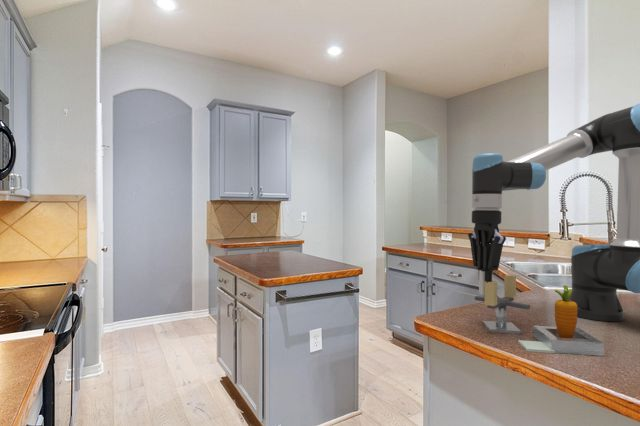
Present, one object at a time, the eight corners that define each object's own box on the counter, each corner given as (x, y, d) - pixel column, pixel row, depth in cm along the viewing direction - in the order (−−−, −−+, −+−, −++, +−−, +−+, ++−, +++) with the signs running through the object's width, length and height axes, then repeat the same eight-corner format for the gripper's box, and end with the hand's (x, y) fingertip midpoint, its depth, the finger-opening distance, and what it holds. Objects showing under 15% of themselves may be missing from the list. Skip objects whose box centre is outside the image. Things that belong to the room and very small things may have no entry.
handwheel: (487, 295, 113) (487, 272, 113) (538, 304, 102) (538, 278, 102) (463, 304, 102) (463, 278, 102) (517, 315, 91) (517, 286, 91)
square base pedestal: (511, 325, 105) (511, 301, 105) (521, 334, 97) (521, 308, 97) (482, 323, 107) (482, 300, 107) (489, 332, 99) (489, 307, 99)
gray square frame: (579, 339, 93) (579, 328, 93) (603, 356, 82) (603, 343, 82) (533, 336, 95) (533, 325, 95) (551, 352, 84) (551, 339, 84)
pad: (543, 344, 90) (543, 341, 90) (554, 353, 84) (554, 350, 84) (518, 342, 91) (518, 340, 91) (527, 351, 85) (527, 348, 85)
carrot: (571, 350, 85) (571, 288, 85) (549, 344, 90) (549, 285, 90) (582, 347, 88) (582, 287, 88) (561, 340, 92) (560, 283, 92)
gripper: (460, 209, 104) (459, 289, 104) (490, 209, 91) (488, 300, 91) (483, 209, 105) (481, 288, 106) (515, 210, 93) (513, 299, 93)
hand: (484, 293), depth 99 cm, fingers closed
